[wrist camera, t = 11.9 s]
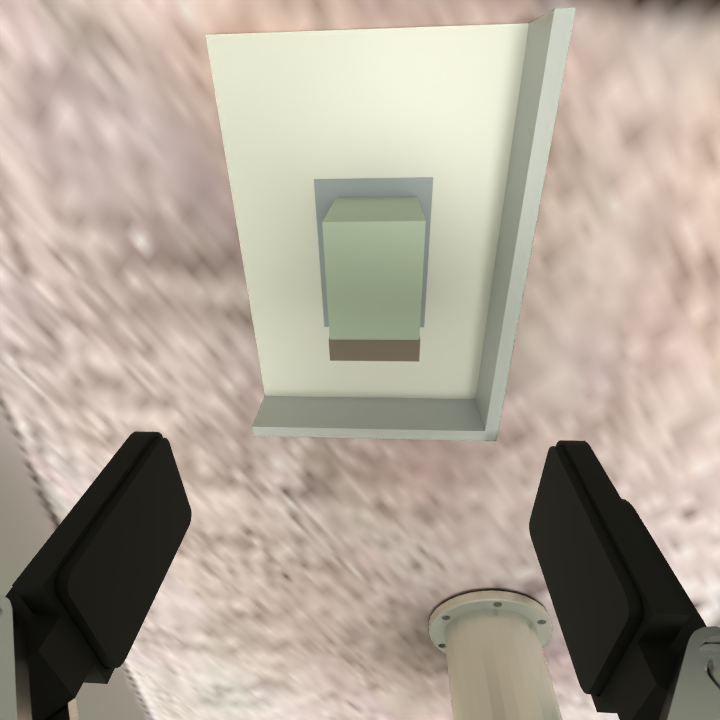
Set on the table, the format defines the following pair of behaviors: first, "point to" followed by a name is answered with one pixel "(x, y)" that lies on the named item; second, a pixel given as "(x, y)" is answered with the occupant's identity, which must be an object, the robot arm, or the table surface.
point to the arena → (389, 179)
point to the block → (374, 278)
